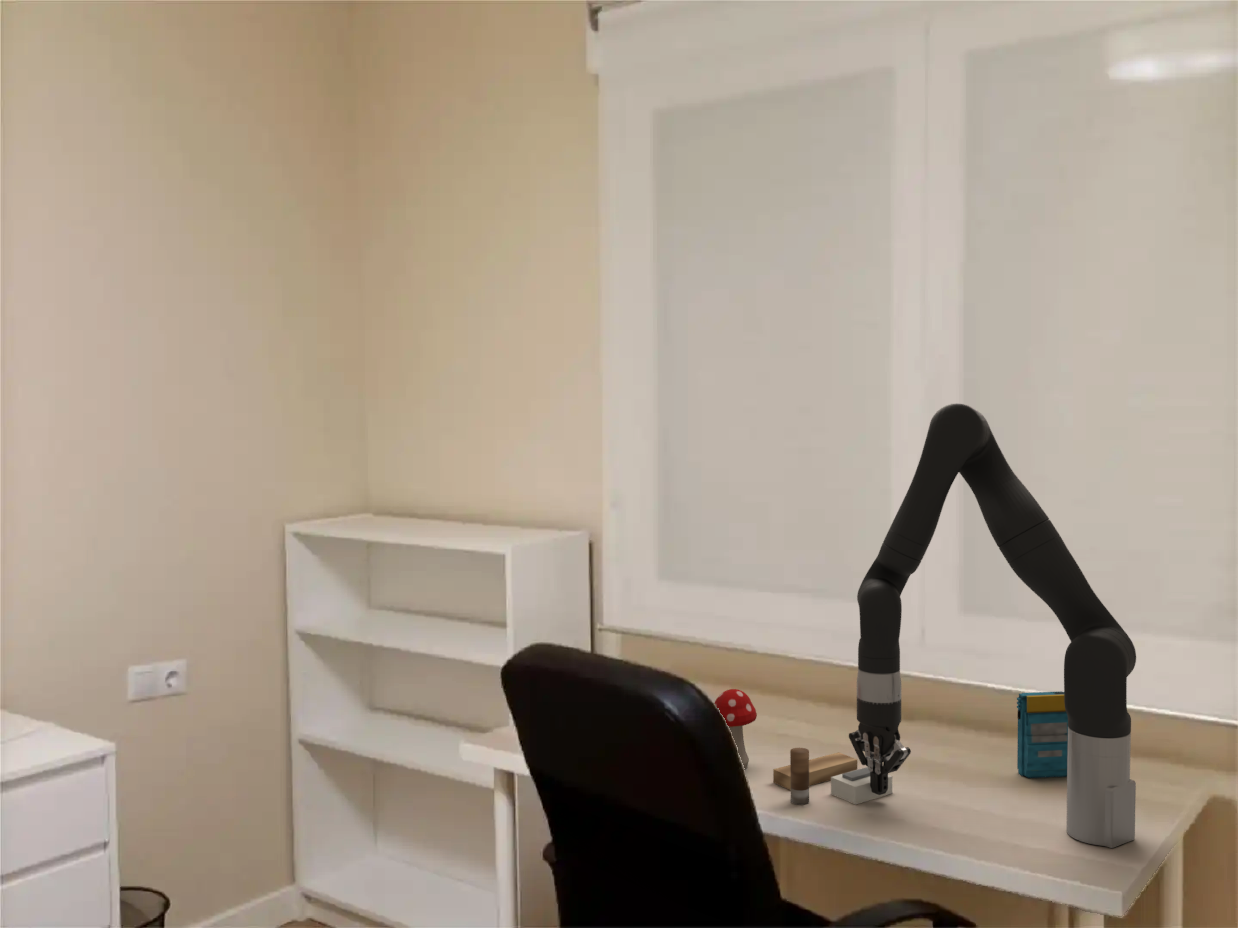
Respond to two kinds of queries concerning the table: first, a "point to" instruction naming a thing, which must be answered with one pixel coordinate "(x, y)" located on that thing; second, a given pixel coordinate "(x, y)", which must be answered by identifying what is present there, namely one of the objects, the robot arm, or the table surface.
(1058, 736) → the handheld gaming console
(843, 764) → the batten
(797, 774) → the brown cylinder
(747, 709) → the decorative mushroom
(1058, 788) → the table surface
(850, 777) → the block
